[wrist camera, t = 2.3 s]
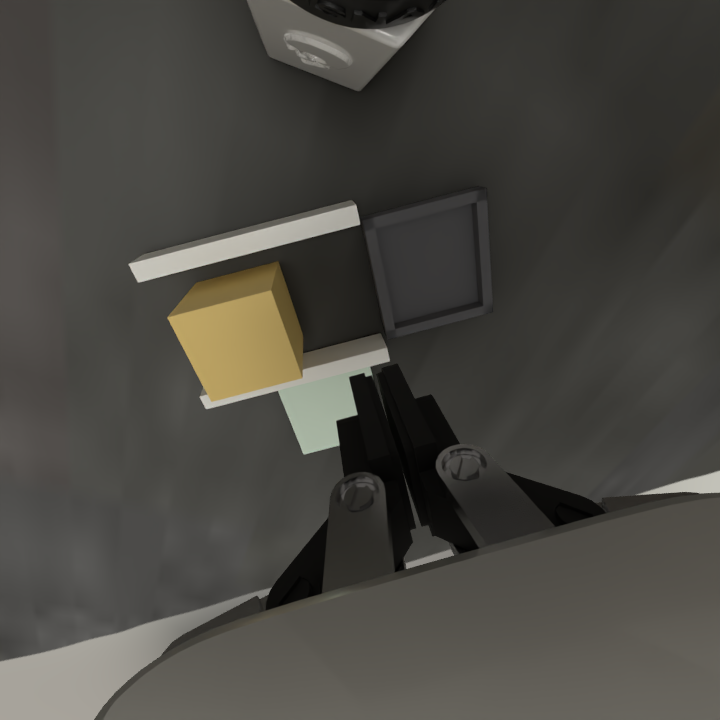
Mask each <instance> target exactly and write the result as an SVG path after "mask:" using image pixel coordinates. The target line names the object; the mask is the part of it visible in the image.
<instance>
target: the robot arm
mask: <svg viewBox="0 0 720 720" xmlns="http://www.w3.org/2000/svg"><path fill="white" fill-rule="evenodd" d="M377 378H378V382H379V387H380V391H381V395H382V399H383V403H384V407H385V412H386V415H385V412H384V409H383V407H382V404H381V401H380V398H379V395H378V392H377V389H376V386H375V383H374V380H373V377H372V375H370V376H367V377H366V376H365V373H361V374H358V375H354V376H350V377H349V380H350V384H351V389H352V393H353V397H354V401H355V406H356V410H357V414H358V415H355V416H351V417H348V418H344V419H340V420H337V421H336V424H337V431H338V438H339V445H340V451H341V458H342V465H343V472H344V478H342V479H341V480H340V481H339V482H338V483H337V484H336V485H335V487H334V488H333V490H332V493H331V496H330V505H329V517H328V519H327V520H326V521H325V522H324V524H323V525H322V526H321V527H320V528H319V530H318V531H317V532H316V533H315V535H314V536H313V537H312V538H311V540H310V541H309V542H308V543H307V544H306V546H305V547H304V548H303V549H302V551H301V552H300V553H299V554H298V555H297V557H296V558H295V559H294V560H293V562H292V563H291V564H290V565H289V567H288V568H287V569H286V570H285V571H284V573H283V574H282V575H281V576H280V578H279V579H278V580H277V581H276V583H275V584H274V586H273V587H272V589H271V590H270V593H269V595H267V596H265V597H263V598H261V599H259V598H258V596H255V597H253V598H251V599H250V600H248V601H246V602H244V603H242V604H240V605H239V606H236V607H234V608H233V609H231V610H229V611H227V612H225V613H223V614H221V615H219V616H217V617H215V618H214V619H212V620H210V621H208V622H206V623H204V624H202V625H200V626H198V627H197V628H195V629H193V630H191V631H189V632H187V633H185V634H183V635H182V636H180V637H179V638H178V639H176V640H175V641H173V642H172V643H171V644H170V645H169V646H168V648H167V649H166V650H165V651H164V652H163V654H162V655H161V656H160V657H159V658H157V659H156V660H155V661H153V662H152V663H150V664H149V665H148V666H146V667H145V668H143V669H142V670H140V671H139V672H138V673H137V674H136V675H134V676H133V677H132V678H131V679H130V680H128V681H127V682H126V683H125V684H124V685H123V686H122V687H121V688H120V689H119V690H118V691H117V692H116V693H115V694H114V695H113V696H112V697H111V698H110V699H109V700H108V702H107V703H106V704H105V705H104V706H103V708H102V709H101V710H100V712H99V713H98V715H97V716H96V718H95V719H94V720H720V493H704V494H699V493H691V492H679V493H664V494H649V495H634V496H619V497H605V498H602V502H599V503H594V502H593V501H592V500H589V499H587V498H585V497H582V496H580V495H577V494H574V493H570V492H567V491H564V490H561V489H558V488H555V487H551V486H548V485H545V484H542V483H539V482H536V481H532V480H529V479H526V478H523V477H520V476H517V475H513V474H510V473H507V472H505V471H504V470H503V469H502V468H501V466H500V465H499V464H498V463H497V462H496V461H495V460H494V459H493V458H492V457H491V456H490V454H489V453H487V452H486V451H485V450H484V449H482V448H480V447H478V446H475V445H470V444H460V443H459V442H458V440H457V438H456V436H455V434H454V433H453V431H452V429H451V427H450V426H449V424H448V422H447V420H446V419H445V417H444V415H443V413H442V412H441V410H440V408H439V406H438V405H437V403H436V401H435V399H434V398H433V396H432V395H427V396H424V397H420V398H417V399H415V398H414V396H413V394H412V392H411V390H410V388H409V386H408V384H407V382H406V380H405V378H404V376H403V374H402V372H401V370H400V368H399V366H398V364H394V365H391V366H387V367H383V368H382V372H381V373H378V374H377ZM386 416H387V418H386ZM387 420H388V421H387ZM402 470H403V471H402ZM403 473H404V475H403ZM404 476H405V479H406V482H407V485H408V488H409V491H410V494H411V497H412V500H413V503H414V506H415V509H416V512H417V515H418V517H419V520H420V523H421V526H426V525H429V528H430V531H431V534H432V536H437V537H439V538H442V539H444V540H446V541H448V542H449V545H450V547H451V550H452V552H453V554H454V556H451V557H448V558H444V559H441V560H437V561H434V562H430V563H427V564H423V565H420V566H416V567H413V568H409V569H406V563H405V559H404V556H405V554H406V552H407V551H408V549H409V547H410V546H411V544H412V543H413V540H412V536H411V532H410V530H412V529H415V528H416V526H415V521H414V517H413V513H412V509H411V504H410V500H409V496H408V492H407V487H406V483H405V479H404Z"/></svg>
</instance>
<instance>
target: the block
mask: <svg viewBox="0 0 720 720" xmlns="http://www.w3.org/2000/svg"><path fill="white" fill-rule="evenodd" d="M167 318H168V320H169V322H170V324H171V326H172V328H173V329H174V331H175V333H176V335H177V337H178V339H179V341H180V343H181V345H182V347H183V349H184V351H185V352H186V354H187V356H188V358H189V360H190V362H191V364H192V366H193V368H194V370H195V372H196V374H197V375H198V377H199V379H200V381H201V383H202V385H203V387H204V389H205V391H206V393H207V395H208V397H209V398H210V400H211V402H214V401H217V400H221V399H225V398H229V397H233V396H236V395H240V394H244V393H248V392H252V391H256V390H259V389H263V388H267V387H271V386H275V385H279V384H282V383H286V382H290V381H294V380H298V379H301V378H303V333H302V330H301V327H300V324H299V321H298V318H297V315H296V312H295V310H294V307H293V304H292V301H291V298H290V295H289V292H288V289H287V286H286V283H285V280H284V277H283V274H282V271H281V268H280V265H279V262H278V261H277V262H273V263H269V264H266V265H262V266H258V267H254V268H250V269H246V270H243V271H239V272H235V273H231V274H227V275H224V276H220V277H216V278H212V279H208V280H204V281H201V282H197V283H196V284H195V285H194V286H193V287H192V288H191V290H190V291H189V292H188V293H187V294H186V296H185V297H184V298H183V299H182V300H181V302H180V303H179V304H178V305H177V306H176V308H175V309H174V310H173V311H172V312H171V314H170V315H169V316H168V317H167Z"/></svg>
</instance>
